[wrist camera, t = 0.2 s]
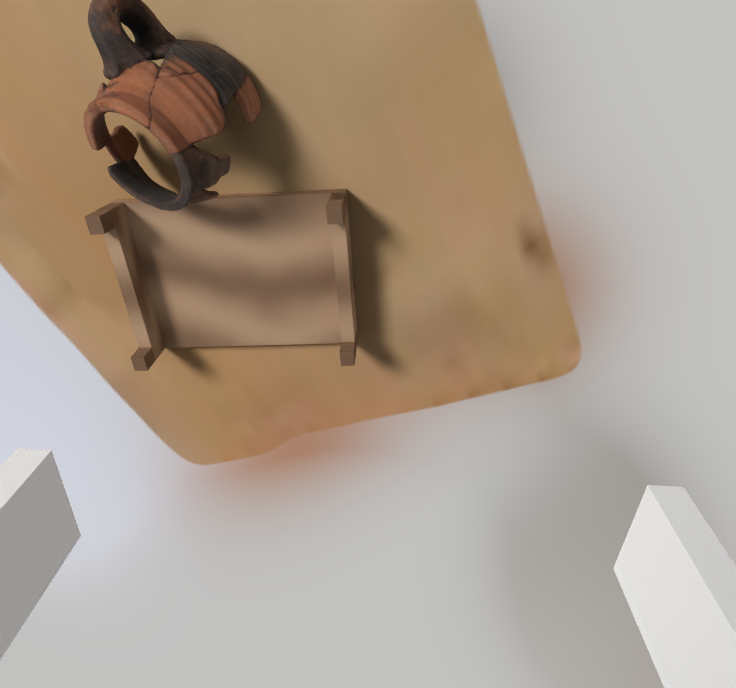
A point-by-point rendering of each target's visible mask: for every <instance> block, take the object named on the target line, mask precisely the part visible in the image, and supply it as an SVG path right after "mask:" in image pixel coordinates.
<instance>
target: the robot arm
mask: <svg viewBox="0 0 736 688" xmlns="http://www.w3.org/2000/svg"><path fill="white" fill-rule="evenodd" d="M80 536H81V535H80V532H79V529H78V526H77V523H76V520H75V517H74V514H73V512H72V509H71V506H70V503H69V500H68V497H67V494H66V491H65V489H64V486H63V483H62V480H61V477H60V474H59V471H58V468H57V465H56V463H55V460H54V457H53V454H52V451H51V450H36V449H19V448H18V449H16V450H15V452H14V453H13V454H12V455H11V456H10V457H9V458H8V459H7V460H6V461H5V462H4V463H3V464H2V465H1V466H0V659H1V658H2V656H3V655H4V653H5V652H6V650H7V649H8V647H9V645H10V644H11V642H12V641H13V639H14V638H15V636H16V635H17V633H18V632H19V630H20V628H21V627H22V625H23V624H24V622H25V621H26V619H27V618H28V616H29V615H30V613H31V612H32V610H33V609H34V607H35V605H36V604H37V602H38V601H39V599H40V598H41V596H42V595H43V593H44V592H45V590H46V589H47V587H48V585H49V584H50V582H51V581H52V579H53V578H54V576H55V575H56V573H57V572H58V570H59V569H60V567H61V565H62V564H63V562H64V561H65V559H66V558H67V556H68V555H69V553H70V552H71V550H72V548H73V547H74V545H75V544H76V542H77V541H78V539H79V538H80ZM613 569H614V571H615V573H616V576H617V578H618V580H619V583H620V585H621V587H622V590H623V592H624V594H625V597H626V599H627V601H628V604H629V606H630V608H631V611H632V613H633V615H634V618H635V620H636V623H637V625H638V627H639V629H640V632H641V634H642V637H643V639H644V641H645V644H646V646H647V648H648V651H649V653H650V655H651V657H652V660H653V662H654V665H655V667H656V670H657V672H658V674H659V677H660V679H661V681H662V683H663V686H664V688H736V565H735V564H734V562H733V561H732V559H731V558H730V556H729V555H728V553H727V552H726V550H725V549H724V547H723V546H722V544H721V543H720V541H719V540H718V538H717V537H716V535H715V534H714V532H713V531H712V529H711V528H710V526H709V525H708V523H707V522H706V520H705V519H704V517H703V516H702V514H701V513H700V511H699V510H698V508H697V507H696V505H695V504H694V502H693V501H692V499H691V498H690V496H689V495H688V493H687V492H686V490H685V489H684V487H675V486H656V485H647V488H646V490H645V493H644V495H643V497H642V500H641V502H640V505H639V507H638V510H637V512H636V514H635V517H634V519H633V522H632V524H631V527H630V529H629V531H628V534H627V537H626V539H625V541H624V544H623V546H622V548H621V551H620V553H619V556H618V558H617V561H616V563H615V566H614V568H613Z"/></svg>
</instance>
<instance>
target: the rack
mask: <svg viewBox="0 0 736 688" xmlns="http://www.w3.org/2000/svg"><path fill="white" fill-rule="evenodd" d="M85 219H86V223H87V226H88V229H89V232H90V235H92V234H104V238H105V241H106V244H107V247H108V250H109V253H110V257H111V260H112V263H113V266H114V269H115V272H116V276H117V279H118V282H119V285H120V288H121V292H122V295H123V298H124V301H125V304H126V307H127V311H128V314H129V317H130V320H131V323H132V327H133V330H134V333H135V336H136V339H137V342H138V346H139V348H138V350H137V351H136V352H135V353H134V354H133V355H132V357H131V360H132V363H133V366H134V369H135V371H148V369H149V368H150V367H151V366H152V364H153V363H154V362H155V360H156V359H157V358H158V356H159V355H160V354H161V353H162V351H163V350H164V349H165V348H181V347H217V346H254V345H290V344H326V343H341V348H340V360H341V366H353V365H354V364H355V356H356V348H357V340H358V331H357V317H356V304H355V290H354V277H353V263H352V250H351V236H350V223H349V210H348V196H347V189H336V190H315V191H294V192H272V193H251V194H230V195H218V197H215V198H213V199H211V200H208V201H203V202H198V203H192V204H191V203H188V205H187V206H186V207H183V208H182V209H180V210H177V211H168V210H161V209H158V208H155V207H153V206H152V205H148V204H146V203H143V202H141V201H140V200H138V199H124V200H115V201H113V202H112V203H110V204H108V205H106V206H104V207H102V208H100V209H98V210H97V211H95V212H93V213H91V214H89V215H87V216H85Z"/></svg>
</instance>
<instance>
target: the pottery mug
mask: <svg viewBox="0 0 736 688" xmlns="http://www.w3.org/2000/svg"><path fill="white" fill-rule="evenodd" d="M120 22H121V23H123V24H124V25H126V26H127V27H128V28H129V29H130V30H131V31H132V33H133V35H134V37H135V43H134V42H133V41H132V40H131V39H130V38H129V37H128V36H127V34H126V33H125V31H124V29H123V27H122V25H121V23H120ZM88 23H89V29H90V32H91V35H92V37H93V39H94V41H95V44H96V46H97V48H98V50H99V52H100V55H101V57H102V59H103V64H104V70H103V73H104V76H105V77H106V78H107V79H109V80H111V79H112V80H111V81H110V82H109V83H108V86H107V85H106V84H104V83H102V84H101V85H100V87H99V90H98V93H97V98H96V99H94V101H92V102H91V103H90V104H89V105H88V107H87V109H86V111H85V115H84V127H85V132H86V135H87V139H88V141H89V144H90V145H91V147H92V149H95V150H100V149H102V148H103V147H104V146H106V148H107V150H108V152H109V153H110V154H111V156H112V157H113V158H114V159H115V161H116V162H117V163H116V164H113V165H111V166H109V167H108V171H109V174H110V176H111V177H112V178H113V179H114V180H115V181H116V182H117V183H118V184H119V185H120V186H121V187H122V188H123V189H125V190H126V191H127V192H128V193H129V194H131V195H132V196H134V197H135V198H136V199H138V200H140V201H141V202H143V203H146V204H148V205H152V206H153V207H155V208H158V209H161V210H168V211H177V210H180V209H182V208H183V207H186V206H187V205H188V203H191V204H192V203H198V202H203V201H208V200H211V199H213V198H215V197H218V195H219V194H218V192H216V191H207V190H205V188H209V187H211V186H213V185H215V184H216V183H217V182H218V180H219V179H220V177H221V176H223V175H225V174H227V173H228V171H229V167H230V161H231V160H230V156H229V155H227V154H223V155H219V156H217V157H216V156H215V155H213V154H210V153H207V152H205V151H202V150H200V149H199V148H197V147H196V146H194V145H193V143H196V142H199V141H202V140H203V139H206V138H209V137H211V136H214V135H217V134H220V133H221V131H222V129H223V127H224V124H225V117H224V113H223V110H222V109H223V108H225V107H226V106H227V104H228V103H229V101H230V99H231V98H232V96H234V98H235V100H236V102H237V103H238V106H239V108H240V110H241V113H242V115H243V118H244V121H245V122H246V123H251V122H253V121H254V120H255V118H256V116H257V115H258V113H259V112H260V110H261V102H260V98H259V95H258V93H257V91H256V88H255V86H254V85H253V83H252V81H251V79H250V78H249V77H248V75H247V73H246V72H245V70H244V69H243V68H242V67H241V66H240V65H239V63H238V62H237V61H236V60H235V59H234V58H233V57H232V56H230V55H229V54H228V53H227V52H226V51H224V50H223V49H221V48H220V47H218V46H216V45H213V44H209V43H206V42H202V41H188V40H180V39H176V38H175V37H174V36H173V35H172V34H170V33H169V32H168V31H167V30H166V29H165V28H164V26H163V25H162V24H161V23H160V21H159V20H158V19H157V18H156V16H155V15H154V13H153V12H152V11H151V10H150V9H149V8H148V7H147V6H146V5H145V4H144V3H143V2H142V1H141V0H93V1H92V2H91V4H90V8H89V14H88ZM164 58H165V59H164ZM158 59H164V61H163V63H162V64H161V67H159V66H158V65H157V64H155V63H154V62H153V61H150V60H158ZM106 112H115V113H119V114H122V115H125V116H127V117H130V118H131V119H133V120H135V121H137V122H138V123H140V124H141V125H143V126H144V127H145V128H147V129H149V130H150V132H151V133H152V134H153V135H154V136H155V137H156V138H157V139H158V140H159V141H160V142H161V143H162V145H163V146H164V147H165V148H166V149H167V151H168V152H169V153H170V154H171V155H172V157H173V160H174V162H175V165H176V167H177V169H178V171H179V175H180V180H181V189H180V193H179V194H176V193H174V192H172V191H170V190H168V189H166V188H164V187H162V186H160V185H158V184H157V183H155V182H154V181H152V180H151V178H150V177H148V175H147V174H146V173H145V172H144V170H143V169H142V168H141V166H140V165H139V164H138V162H137V161H136V160H135V159H134V156H135V154H136V152H137V148H138V144H139V143H138V141H137V139H136V138H135V137H134V136H133V134H132V133H131V132H130V131H129V130H128V129H127V128H125V127H124V126H122V125H121V126H117V127H115V128H114V131H113V133H112V134H111V135H110V134H109V131H108V129H107V126H106V123H105V117H104V114H105V113H106Z"/></svg>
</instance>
